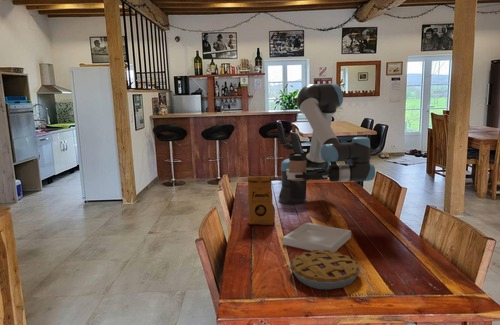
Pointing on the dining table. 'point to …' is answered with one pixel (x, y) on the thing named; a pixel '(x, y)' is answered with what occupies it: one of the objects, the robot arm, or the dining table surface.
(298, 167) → the travel mug
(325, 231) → the tray
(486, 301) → the dining table surface
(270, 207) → the coffee package
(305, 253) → the pie
